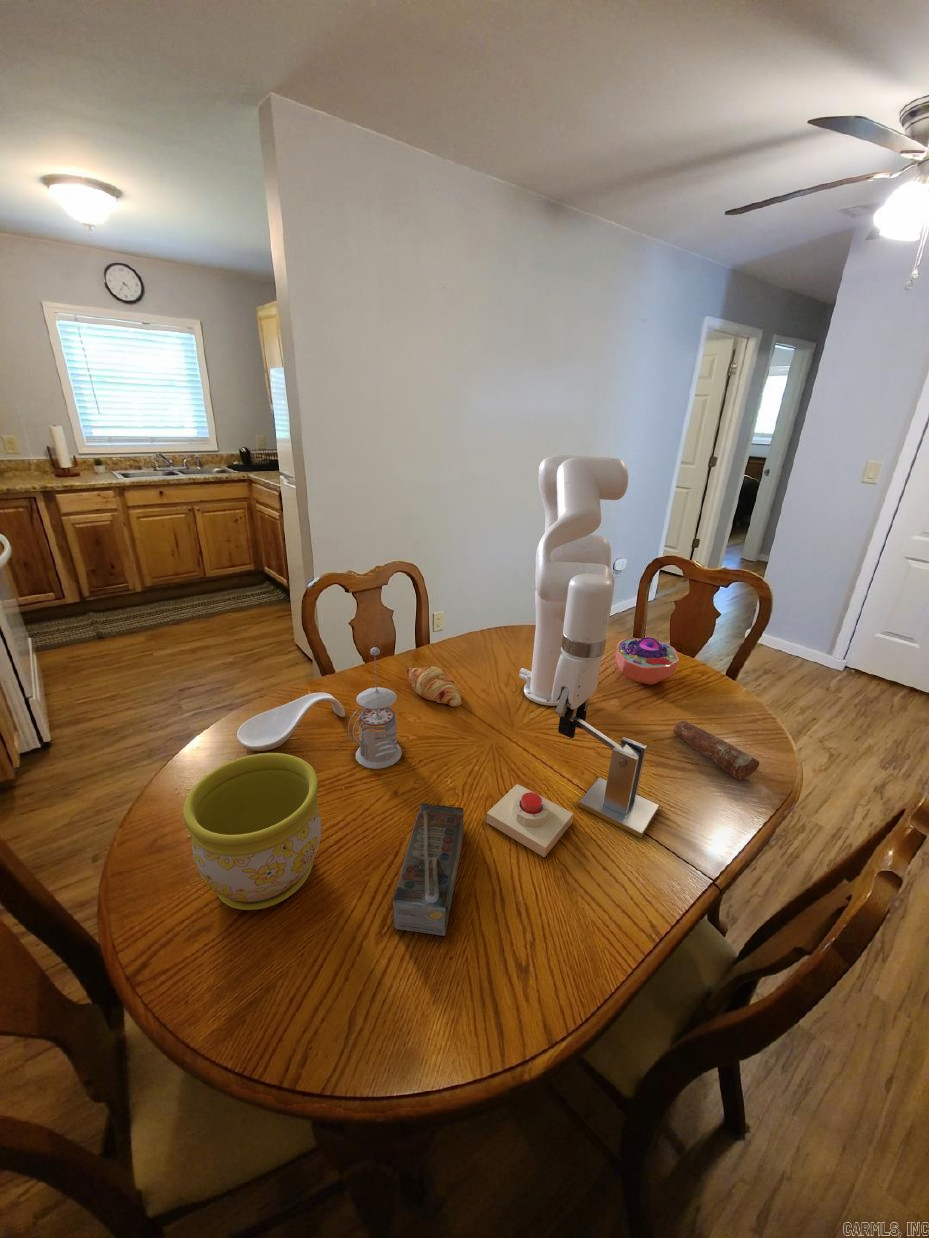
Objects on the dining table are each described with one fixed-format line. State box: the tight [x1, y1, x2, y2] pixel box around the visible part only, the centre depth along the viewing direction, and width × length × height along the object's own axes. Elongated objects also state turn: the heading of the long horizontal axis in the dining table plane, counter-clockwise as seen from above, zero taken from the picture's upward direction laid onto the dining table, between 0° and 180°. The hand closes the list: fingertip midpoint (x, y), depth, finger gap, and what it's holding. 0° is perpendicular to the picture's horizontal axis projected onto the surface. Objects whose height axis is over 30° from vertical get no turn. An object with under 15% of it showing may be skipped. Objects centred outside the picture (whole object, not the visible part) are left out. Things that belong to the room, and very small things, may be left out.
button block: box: [485, 783, 574, 858], centre depth 89 cm, size 12×10×4 cm
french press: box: [347, 646, 403, 770], centre depth 101 cm, size 10×12×25 cm
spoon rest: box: [236, 692, 346, 752], centre depth 111 cm, size 24×12×7 cm, turn 134°
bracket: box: [578, 736, 660, 839], centre depth 91 cm, size 12×9×14 cm
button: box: [521, 791, 542, 814], centre depth 88 cm, size 4×4×2 cm
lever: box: [558, 707, 640, 757], centre depth 92 cm, size 16×3×3 cm, turn 52°
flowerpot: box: [182, 752, 323, 911], centre depth 75 cm, size 18×18×16 cm
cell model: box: [614, 636, 680, 686], centre depth 140 cm, size 17×20×11 cm
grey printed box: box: [392, 802, 465, 937], centre depth 77 cm, size 8×19×7 cm, turn 172°
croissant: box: [406, 665, 462, 707], centre depth 129 cm, size 21×10×8 cm, turn 44°
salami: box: [673, 720, 760, 781], centre depth 109 cm, size 6×19×6 cm, turn 23°
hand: (571, 729), depth 96 cm, fingers closed on lever, 3 cm apart
